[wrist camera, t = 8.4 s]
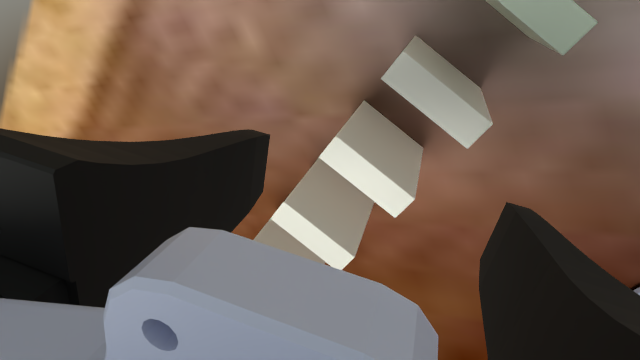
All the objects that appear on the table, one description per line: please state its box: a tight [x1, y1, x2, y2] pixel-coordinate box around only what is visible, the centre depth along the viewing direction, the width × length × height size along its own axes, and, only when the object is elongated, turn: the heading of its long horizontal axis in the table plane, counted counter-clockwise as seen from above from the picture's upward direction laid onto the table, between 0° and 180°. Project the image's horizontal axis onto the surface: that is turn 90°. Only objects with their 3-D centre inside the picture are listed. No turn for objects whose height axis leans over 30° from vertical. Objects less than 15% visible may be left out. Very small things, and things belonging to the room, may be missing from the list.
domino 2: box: [319, 100, 423, 218], centre depth 18 cm, size 4×1×6 cm, turn 54°
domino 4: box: [381, 35, 493, 149], centre depth 16 cm, size 4×1×6 cm, turn 54°
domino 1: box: [254, 219, 325, 264], centre depth 22 cm, size 4×1×6 cm, turn 55°
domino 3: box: [270, 158, 374, 270], centre depth 20 cm, size 4×1×6 cm, turn 54°
